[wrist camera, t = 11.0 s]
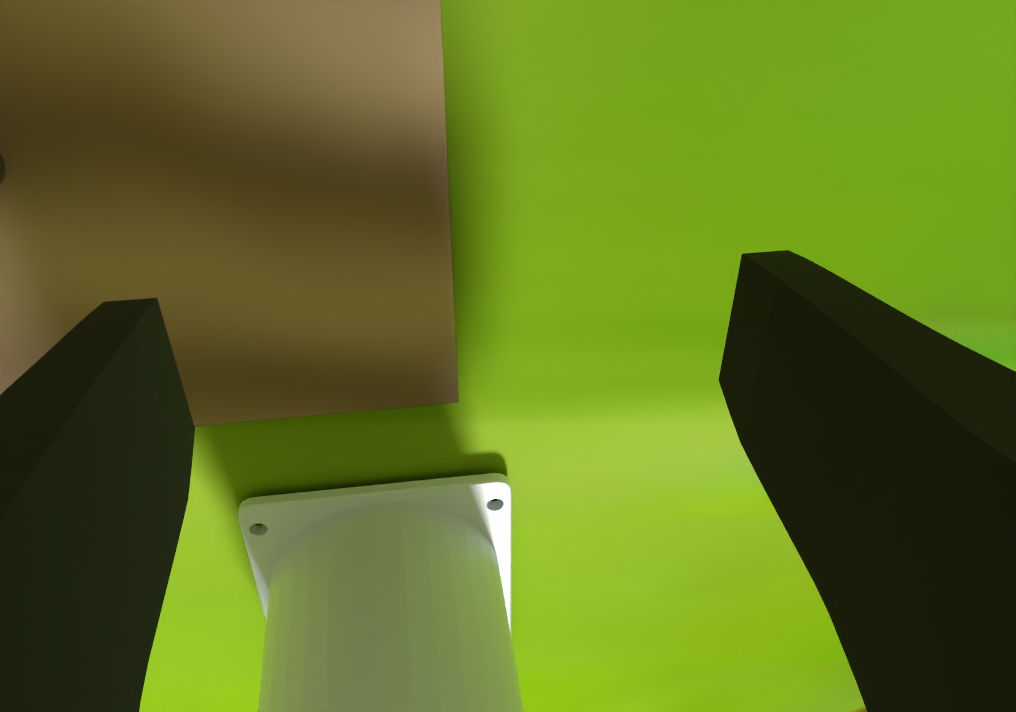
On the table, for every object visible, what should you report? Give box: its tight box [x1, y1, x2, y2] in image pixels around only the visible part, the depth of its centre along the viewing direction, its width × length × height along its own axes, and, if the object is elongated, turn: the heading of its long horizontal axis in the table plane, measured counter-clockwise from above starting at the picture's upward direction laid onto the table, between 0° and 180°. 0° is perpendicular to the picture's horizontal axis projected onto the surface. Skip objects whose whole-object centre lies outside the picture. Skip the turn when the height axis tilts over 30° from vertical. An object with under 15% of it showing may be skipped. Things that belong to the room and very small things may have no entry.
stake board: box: [0, 0, 458, 426], centre depth 16 cm, size 15×16×7 cm
